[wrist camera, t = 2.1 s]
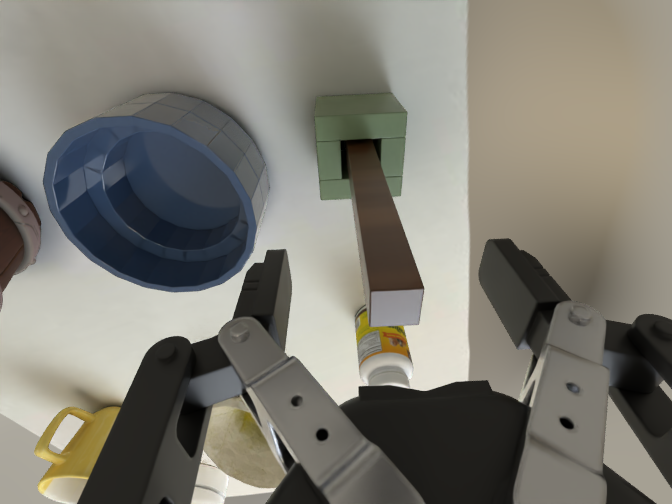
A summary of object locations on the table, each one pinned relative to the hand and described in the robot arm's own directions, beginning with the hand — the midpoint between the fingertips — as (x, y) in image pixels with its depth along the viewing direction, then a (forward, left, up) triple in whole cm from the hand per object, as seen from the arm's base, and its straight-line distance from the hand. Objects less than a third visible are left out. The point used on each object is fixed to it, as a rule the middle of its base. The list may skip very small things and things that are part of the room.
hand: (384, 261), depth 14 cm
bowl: (+39, -15, -18) cm, 45 cm away
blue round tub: (+3, -14, -17) cm, 23 cm away
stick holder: (0, 0, -17) cm, 17 cm away
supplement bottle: (+22, +3, -18) cm, 28 cm away
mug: (+40, -37, -18) cm, 58 cm away
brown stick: (0, 0, -17) cm, 17 cm away
